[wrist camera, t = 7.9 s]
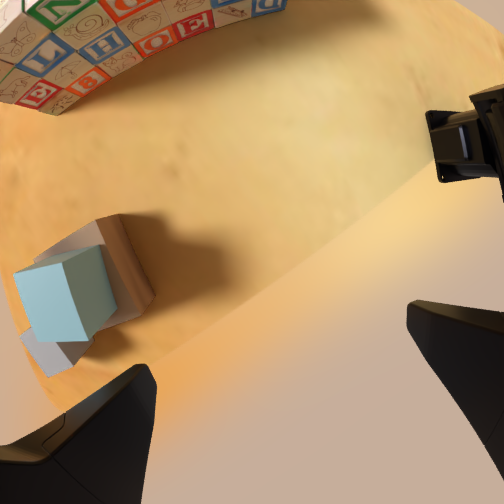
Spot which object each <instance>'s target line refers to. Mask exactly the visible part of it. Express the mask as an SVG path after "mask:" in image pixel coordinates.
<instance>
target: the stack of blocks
mask: <svg viewBox="0 0 504 504" xmlns="http://www.w3.org/2000/svg"><path fill="white" fill-rule="evenodd" d="M286 3H287V0H0V102H3V103H8V104H16V105H19V106H23V107H27V108H31V109H36V110H38V111H39V112H43V113H46V114H50V115H54V116H57V115H59V114H60V113H61V112H63V111H64V110H65V109H66V108H68V107H69V106H70V105H72V104H73V103H74V102H76V101H77V100H79V99H80V98H81V97H84V96H86V95H87V94H88V93H90V92H91V91H93V90H94V89H96V88H97V87H99V86H100V85H102V84H104V83H105V82H107V81H108V80H110V79H111V78H113V77H115V76H117V75H118V74H120V73H122V72H124V71H125V70H127V69H129V68H131V67H133V66H134V65H136V64H138V63H140V62H142V61H143V60H144V59H145V58H147V57H149V56H151V55H153V54H155V53H157V52H159V51H161V50H163V49H165V48H167V47H170V46H172V45H174V44H176V43H178V42H179V41H182V40H184V39H187V38H189V37H192V36H195V35H197V34H199V33H202V32H205V31H208V30H210V29H212V28H219V27H222V26H225V25H228V24H231V23H234V22H237V21H241V20H244V19H248V18H250V17H255V16H259V15H263V14H267V13H271V12H276V11H281V10H284V9H285V7H286Z"/></svg>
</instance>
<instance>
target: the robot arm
mask: <svg viewBox="0 0 504 504" xmlns="http://www.w3.org/2000/svg"><path fill="white" fill-rule="evenodd" d="M469 98H470V100H471V102H473V104H474V107H475V109H474V110H470V111H466V112H453V111H437V110H429V111H427V112H426V113H425V116H426V120H427V124H428V128H429V133H430V137H431V142H432V147H433V152H434V158H435V163H436V170H437V177H438V180H439V182H441V183H448V182H455V181H462V180H468V179H476V178H480V177H497V178H499V181H500V185H501V189H502V194H503V195H502V198H503V202H504V84H501V85H497V86H494V87H491V88H488V89H485V90H483V91H480V92H478V93H475V94H472V95H470V96H469ZM430 115H431V117H432V118H431V117H430ZM442 176H443V178H442ZM407 329H408V331H409V333H410V335H411V336H412V338H413V339H414V341H415V342H416V344H417V346H418V348H419V350H420V351H421V353H422V355H423V356H424V358H425V359H426V361H427V362H428V364H429V365H430V367H431V368H432V369H433V371H434V372H435V373H436V375H437V376H438V377H439V379H440V380H441V382H442V383H443V384H444V386H445V387H446V389H447V390H448V391H449V393H450V394H451V396H452V397H453V399H454V400H455V402H456V403H457V404H458V406H459V407H460V409H461V410H462V411H463V413H464V415H465V416H466V418H467V419H468V421H469V422H470V424H471V426H472V427H473V429H474V430H475V432H476V433H477V435H478V437H479V438H480V440H481V441H482V443H483V445H485V448H486V450H487V452H488V453H489V455H490V457H491V458H492V460H493V462H494V464H495V465H496V467H497V469H498V471H499V472H500V474H501V476H502V478H503V480H504V312H499V311H491V310H484V309H477V308H470V307H463V306H456V305H449V304H442V303H436V302H429V301H423V300H416V301H413V302H410V303H409V304H408V306H407ZM156 394H157V384H156V381H155V379H154V377H153V375H152V373H151V371H150V369H149V367H148V366H147V365H146V364H135V365H133V366H132V367H131V368H129V369H128V370H126V371H125V372H123V373H122V374H120V375H119V376H118V377H116V378H115V379H113V380H112V381H110V382H109V383H108V384H106V385H105V386H103V387H102V388H100V389H99V390H97V391H96V392H94V393H93V394H92V395H90V396H89V397H87V398H86V399H84V400H83V401H81V402H80V403H78V404H77V405H75V406H74V407H72V408H71V409H69V410H68V411H66V413H63V414H62V415H60V416H59V417H57V418H56V419H54V420H52V421H51V422H49V423H48V424H46V425H44V426H43V427H41V428H40V429H37V430H36V431H34V432H32V433H30V434H28V435H26V436H25V437H23V438H21V439H19V440H17V441H15V442H13V443H11V444H8V445H2V446H0V504H141V499H142V491H143V485H144V478H145V472H146V466H147V460H148V454H149V448H150V443H151V437H152V432H153V426H154V418H155V405H156Z"/></svg>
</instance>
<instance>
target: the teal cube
mask: <svg viewBox="0 0 504 504" xmlns="http://www.w3.org/2000/svg"><path fill="white" fill-rule="evenodd" d="M13 276H14V279H15V282H16V285H17V289H18V292H19V295H20V298H21V300H22V303H23V306H24V309H25V312H26V314H27V317H28V319H29V322H30V324H31V327H32V329H33V332H34V334H35V336H36V338H37V341H38V342H72V341H89V340H90V339H91V338H92V337H93V335H94V334H95V333H96V332H97V331H98V330H99V329H100V327H101V326H102V325H103V324H104V323H105V322H106V321H107V320H108V318H109V317H110V316H111V315H112V314H113V313H114V312H115V311H116V310H117V309H118V308H117V305H116V302H115V299H114V296H113V293H112V289H111V286H110V283H109V279H108V276H107V272H106V269H105V265H104V261H103V258H102V254H101V250H100V246H99V245H95V246H90V247H86V248H82V249H78V250H73V251H69V252H65V253H61V254H57V255H53V256H50V257H48V258H46V259H44V260H41V261H39V262H37V263H35V264H33V265H31V266H29V267H26V268H24V269H22V270H20V271H18V272H16V273H14V274H13Z"/></svg>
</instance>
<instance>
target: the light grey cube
mask: <svg viewBox="0 0 504 504" xmlns="http://www.w3.org/2000/svg"><path fill="white" fill-rule="evenodd" d="M19 337H20V339H21V340H22V342H23V343H24V345H25V346H26V348H27V349H28V351H29V352H30V354H31V355H32V357H33V358H34V359H35V361H36V362H37V364H38V365H39V366H40V368H41V369H42V370H43V372H44V373H45V374H46V376H47V377H50V376H53V375H55V374H57V373H60V372H62V371H64V370H66V369H69V368H71V367H73V366H74V365H75V364H76V363H77V362H78V360H79V359H80V358H81V357H82V355H83V354H84V353H85V352H86V351H87V349H88V348H89V347H90V346H91V344H92V343H93V342H94V341H95V340H94V338H93V337H92V338H91V339H90V340H89V341H72V342H38V341H37V338H36V336H35V334H34V332H33V329H32V327H30V328H29V329H28V330H26V331H25V332H24V333H23V334H21V335H20V336H19Z"/></svg>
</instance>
